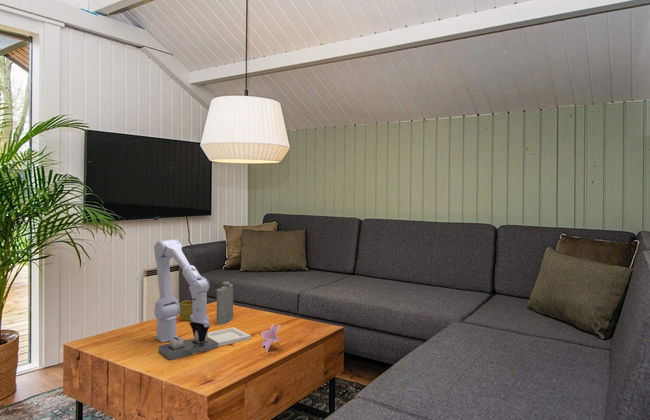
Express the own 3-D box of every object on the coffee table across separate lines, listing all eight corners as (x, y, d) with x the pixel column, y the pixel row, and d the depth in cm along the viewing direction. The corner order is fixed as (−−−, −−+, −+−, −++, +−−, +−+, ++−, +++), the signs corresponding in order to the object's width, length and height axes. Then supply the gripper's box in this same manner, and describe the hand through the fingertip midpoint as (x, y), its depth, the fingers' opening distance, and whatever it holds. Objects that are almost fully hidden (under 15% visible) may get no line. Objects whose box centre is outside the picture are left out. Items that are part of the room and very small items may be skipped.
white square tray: (202, 338, 200) (202, 333, 200) (233, 331, 210) (233, 327, 210) (218, 347, 188) (218, 342, 188) (250, 339, 198) (250, 335, 198)
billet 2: (194, 344, 189) (194, 329, 189) (203, 342, 191) (203, 328, 191) (198, 346, 186) (198, 331, 185) (207, 344, 188) (207, 330, 188)
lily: (262, 344, 196) (253, 327, 192) (287, 333, 197) (279, 316, 193) (264, 362, 185) (255, 345, 182) (291, 350, 186) (282, 333, 182)
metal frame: (158, 351, 183) (158, 345, 183) (204, 341, 196) (204, 335, 196) (169, 360, 174) (169, 353, 174) (217, 349, 187) (217, 343, 187)
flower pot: (185, 317, 234) (185, 300, 234) (201, 317, 233) (201, 300, 233) (177, 321, 225) (177, 304, 225) (194, 322, 224) (194, 304, 224)
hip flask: (228, 316, 235) (228, 279, 234) (235, 317, 234) (235, 279, 234) (215, 325, 219) (215, 285, 219) (223, 326, 219) (223, 285, 218)
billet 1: (169, 353, 182) (169, 337, 182) (179, 350, 184) (179, 335, 184) (173, 355, 179) (173, 340, 179) (183, 353, 181) (183, 338, 181)
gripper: (216, 310, 184) (216, 342, 185) (201, 303, 196) (201, 334, 196) (200, 312, 180) (200, 346, 180) (185, 305, 191) (185, 337, 191)
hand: (199, 340), depth 188 cm, fingers closed on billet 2, 4 cm apart
